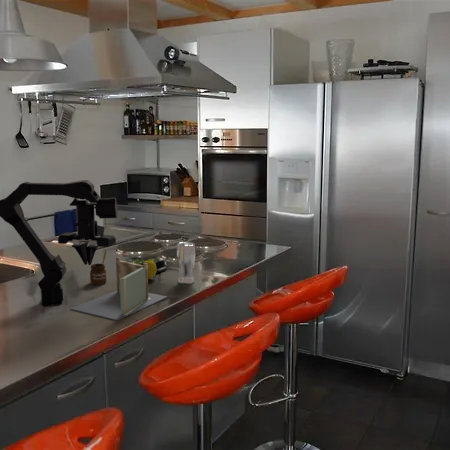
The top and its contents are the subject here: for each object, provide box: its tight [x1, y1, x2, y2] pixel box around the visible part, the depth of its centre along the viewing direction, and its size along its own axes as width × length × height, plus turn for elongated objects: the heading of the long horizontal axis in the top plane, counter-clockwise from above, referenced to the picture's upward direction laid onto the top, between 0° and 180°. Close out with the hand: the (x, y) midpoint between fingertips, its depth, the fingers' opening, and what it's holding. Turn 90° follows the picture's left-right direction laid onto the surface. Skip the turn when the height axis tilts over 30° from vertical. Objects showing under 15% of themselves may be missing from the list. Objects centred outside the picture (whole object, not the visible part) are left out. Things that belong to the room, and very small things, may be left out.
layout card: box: [70, 289, 168, 322], centre depth 178 cm, size 26×20×1 cm
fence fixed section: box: [115, 257, 149, 300], centre depth 184 cm, size 15×2×13 cm, turn 54°
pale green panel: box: [120, 267, 146, 313], centre depth 172 cm, size 15×2×11 cm, turn 162°
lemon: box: [144, 258, 157, 280], centre depth 205 cm, size 6×6×8 cm
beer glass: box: [176, 241, 196, 285], centre depth 201 cm, size 7×7×15 cm
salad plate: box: [130, 258, 168, 274], centre depth 221 cm, size 19×18×5 cm
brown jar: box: [89, 250, 107, 286], centre depth 200 cm, size 6×6×12 cm
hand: (87, 264), depth 177 cm, fingers closed
